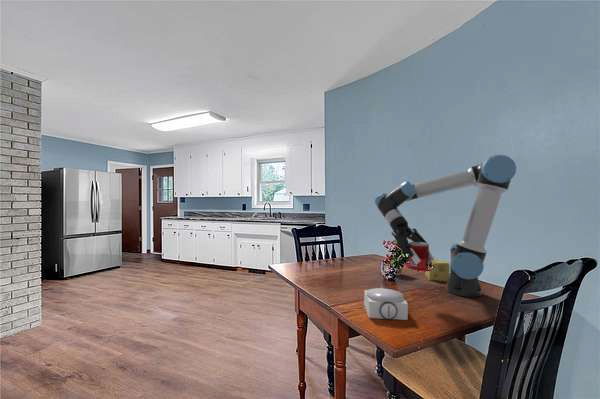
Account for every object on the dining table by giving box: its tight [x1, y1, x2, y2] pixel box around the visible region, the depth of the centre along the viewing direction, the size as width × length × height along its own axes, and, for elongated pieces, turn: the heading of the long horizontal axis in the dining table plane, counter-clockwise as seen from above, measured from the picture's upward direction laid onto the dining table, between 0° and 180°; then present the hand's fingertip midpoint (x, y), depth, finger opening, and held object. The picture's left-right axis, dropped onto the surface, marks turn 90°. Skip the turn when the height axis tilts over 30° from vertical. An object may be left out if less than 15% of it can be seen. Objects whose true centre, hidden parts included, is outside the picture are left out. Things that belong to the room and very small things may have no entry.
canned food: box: [408, 241, 430, 271], centre depth 127 cm, size 8×8×11 cm
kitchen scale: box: [363, 287, 409, 321], centre depth 115 cm, size 14×15×7 cm
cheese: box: [424, 259, 450, 282], centre depth 166 cm, size 10×11×10 cm
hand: (425, 261), depth 124 cm, fingers closed on canned food, 8 cm apart
